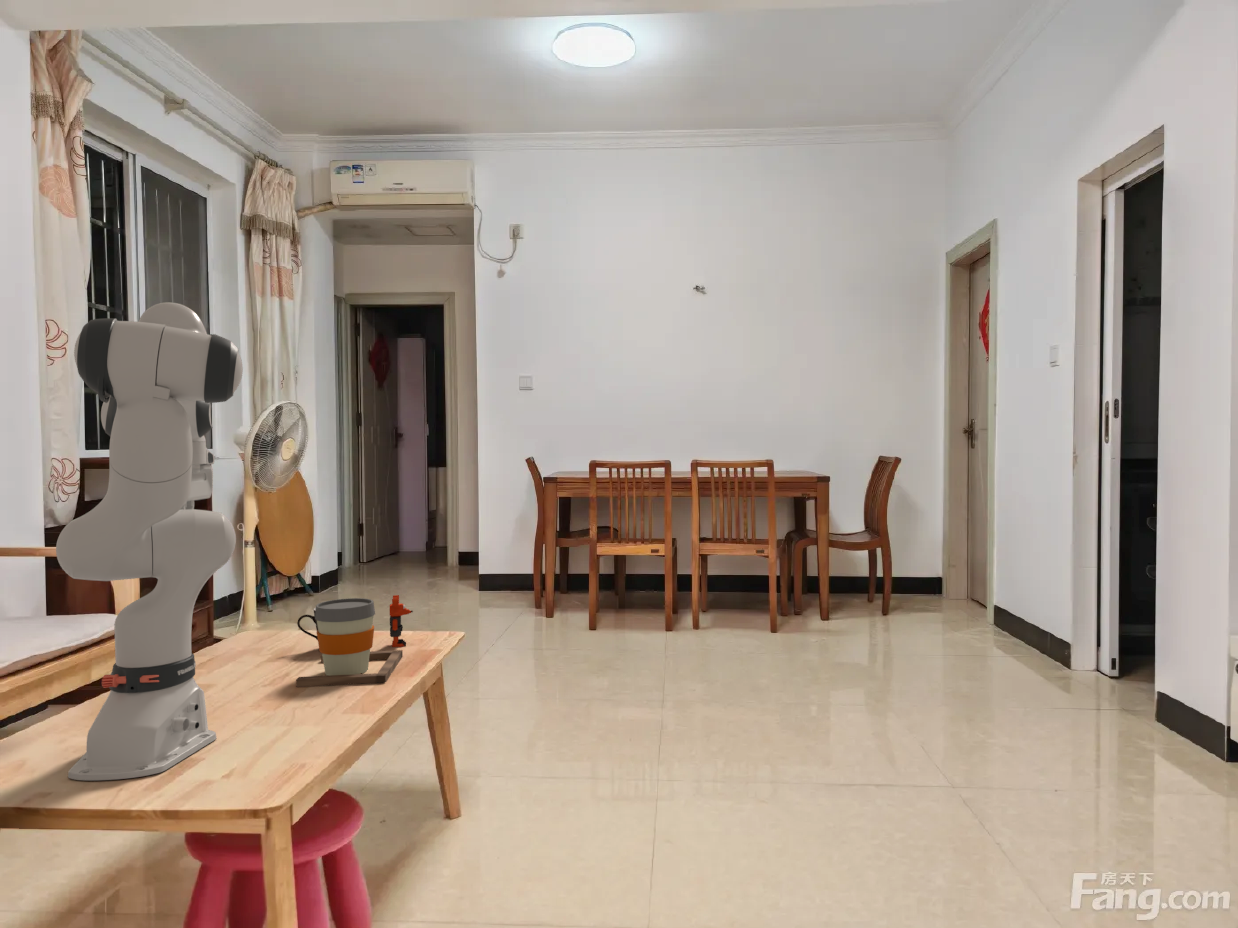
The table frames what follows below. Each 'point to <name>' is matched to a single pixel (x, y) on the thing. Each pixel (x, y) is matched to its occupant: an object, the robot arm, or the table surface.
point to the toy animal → (397, 621)
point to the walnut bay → (380, 677)
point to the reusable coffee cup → (345, 634)
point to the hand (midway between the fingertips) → (184, 523)
